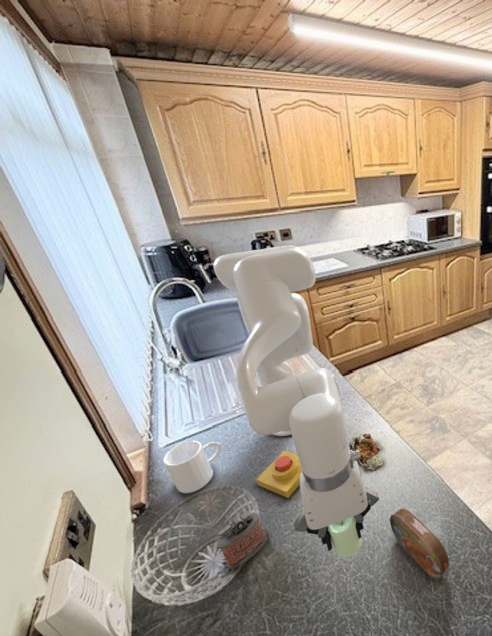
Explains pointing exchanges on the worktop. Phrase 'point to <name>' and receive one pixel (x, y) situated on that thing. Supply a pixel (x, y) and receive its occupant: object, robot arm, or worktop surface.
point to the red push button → (283, 463)
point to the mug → (190, 465)
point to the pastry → (366, 451)
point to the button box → (282, 477)
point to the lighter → (241, 539)
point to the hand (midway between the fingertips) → (343, 536)
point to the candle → (345, 537)
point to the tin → (420, 543)
